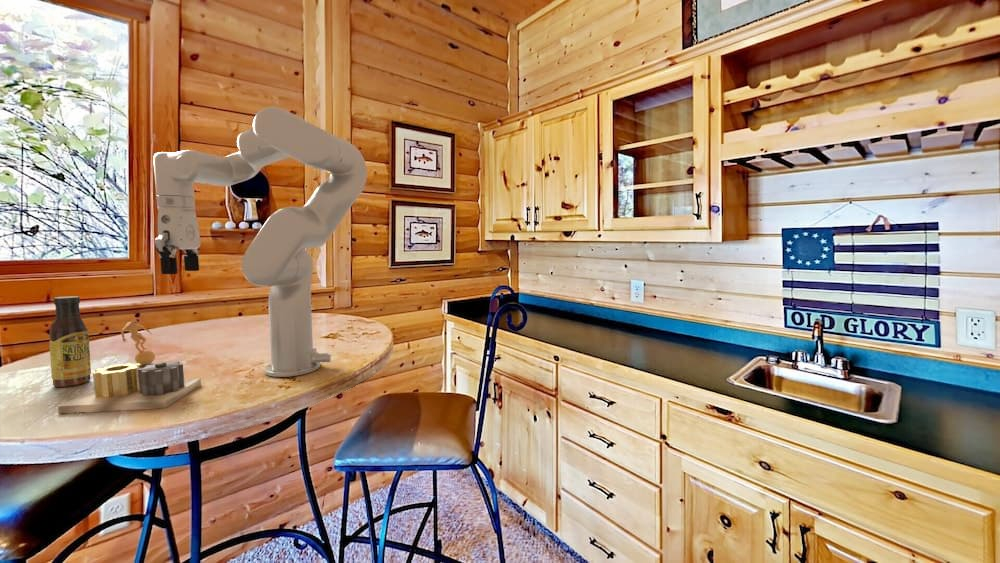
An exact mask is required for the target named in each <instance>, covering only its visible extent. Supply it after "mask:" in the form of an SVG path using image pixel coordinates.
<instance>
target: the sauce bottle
mask: <svg viewBox="0 0 1000 563" xmlns="http://www.w3.org/2000/svg"><path fill="white" fill-rule="evenodd" d="M80 303H81V300H80V296H78V295H76V296H74V295H73V296H71V295H70V296H57V297H54V298H53V304H54V305H55V319H54V321H53V322H52V323H51V325H50V328H49V341H48V342H49V354H50V372H51V373H50V374H51V380H52V386H53V387H56V388H67V387H73V386H78V385H82V384H85V383H88V382H90V380H91V374H92V368H91V354H90V335H89V331H88V329H87V326H86V324H85V322H84V321H83V319H82V317H81V312H80Z"/></svg>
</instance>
